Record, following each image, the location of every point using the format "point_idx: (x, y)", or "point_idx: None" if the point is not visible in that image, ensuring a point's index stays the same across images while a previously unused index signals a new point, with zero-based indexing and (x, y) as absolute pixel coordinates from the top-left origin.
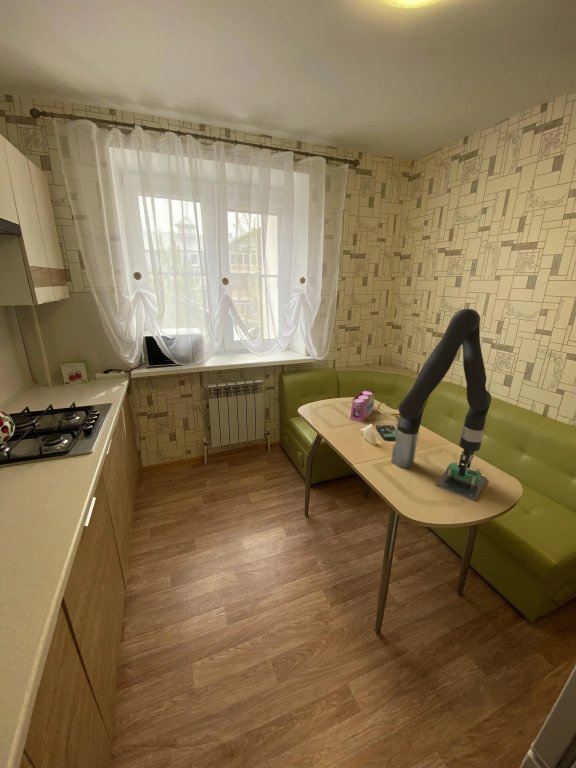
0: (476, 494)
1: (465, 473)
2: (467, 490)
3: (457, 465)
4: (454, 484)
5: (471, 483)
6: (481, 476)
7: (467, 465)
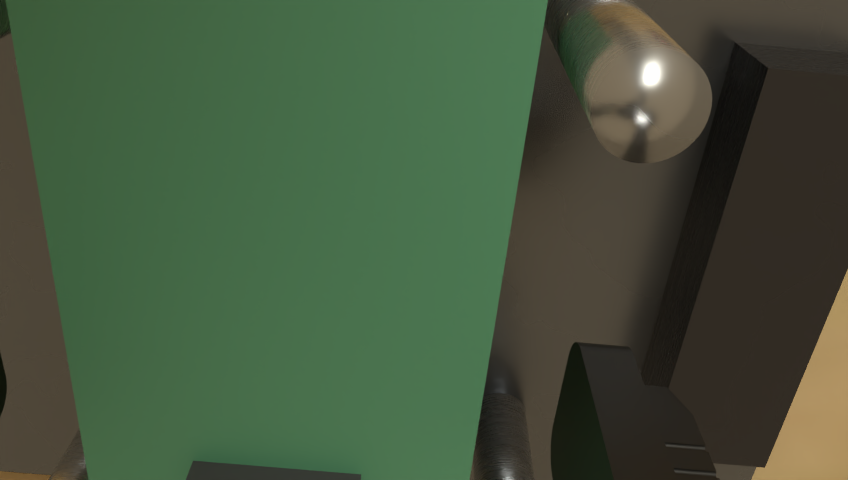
0: (37, 456)
1: (107, 433)
2: (30, 341)
3: (452, 185)
4: (19, 114)
5: (59, 464)
6: (717, 466)
7: (570, 457)
